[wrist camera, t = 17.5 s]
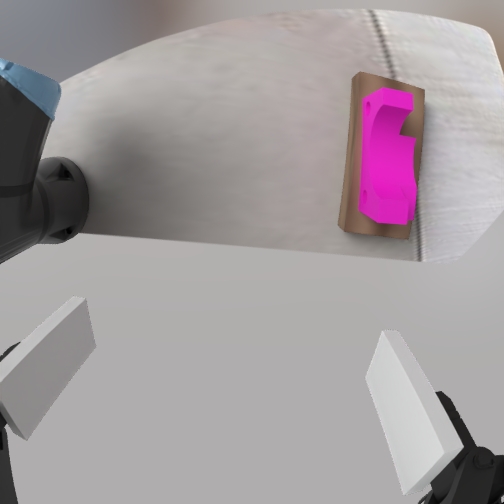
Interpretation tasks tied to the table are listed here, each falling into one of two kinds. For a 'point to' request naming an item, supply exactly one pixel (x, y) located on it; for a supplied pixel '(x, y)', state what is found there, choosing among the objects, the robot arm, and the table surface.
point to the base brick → (349, 206)
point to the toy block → (387, 158)
